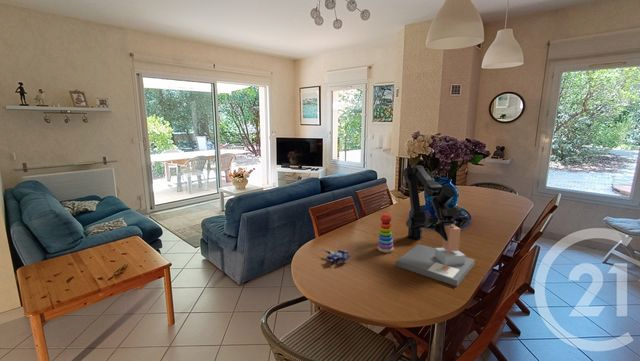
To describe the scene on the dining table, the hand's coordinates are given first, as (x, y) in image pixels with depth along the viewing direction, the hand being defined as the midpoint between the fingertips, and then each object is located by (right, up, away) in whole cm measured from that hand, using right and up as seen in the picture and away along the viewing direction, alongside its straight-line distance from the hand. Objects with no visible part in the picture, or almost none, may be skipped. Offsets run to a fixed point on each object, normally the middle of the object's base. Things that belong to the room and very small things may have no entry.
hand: (452, 240), depth 131 cm
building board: (-6, -12, +4) cm, 14 cm away
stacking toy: (-25, -9, +20) cm, 33 cm away
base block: (0, -10, +3) cm, 10 cm away
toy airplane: (-50, -11, +9) cm, 53 cm away
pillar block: (0, -4, +2) cm, 5 cm away
